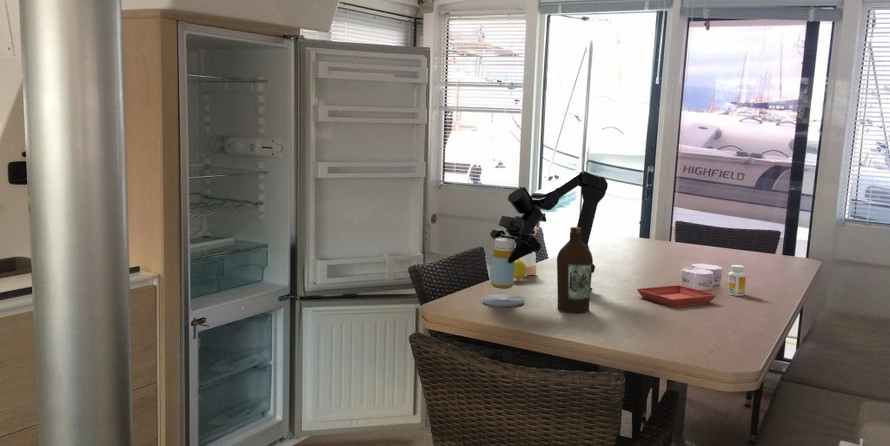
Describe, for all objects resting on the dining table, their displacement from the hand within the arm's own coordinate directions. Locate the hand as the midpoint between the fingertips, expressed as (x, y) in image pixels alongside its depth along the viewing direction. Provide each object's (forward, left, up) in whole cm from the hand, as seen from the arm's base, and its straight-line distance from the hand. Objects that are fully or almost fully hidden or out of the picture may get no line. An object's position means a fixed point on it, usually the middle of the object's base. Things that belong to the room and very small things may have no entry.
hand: (500, 261), depth 235 cm
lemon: (+20, -32, -13) cm, 40 cm away
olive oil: (-21, -9, -13) cm, 27 cm away
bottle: (+1, -1, -8) cm, 9 cm away
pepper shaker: (+26, -44, -13) cm, 53 cm away
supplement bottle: (-44, -69, -13) cm, 83 cm away
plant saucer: (-35, -45, -14) cm, 59 cm away
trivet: (0, -1, -13) cm, 13 cm away
